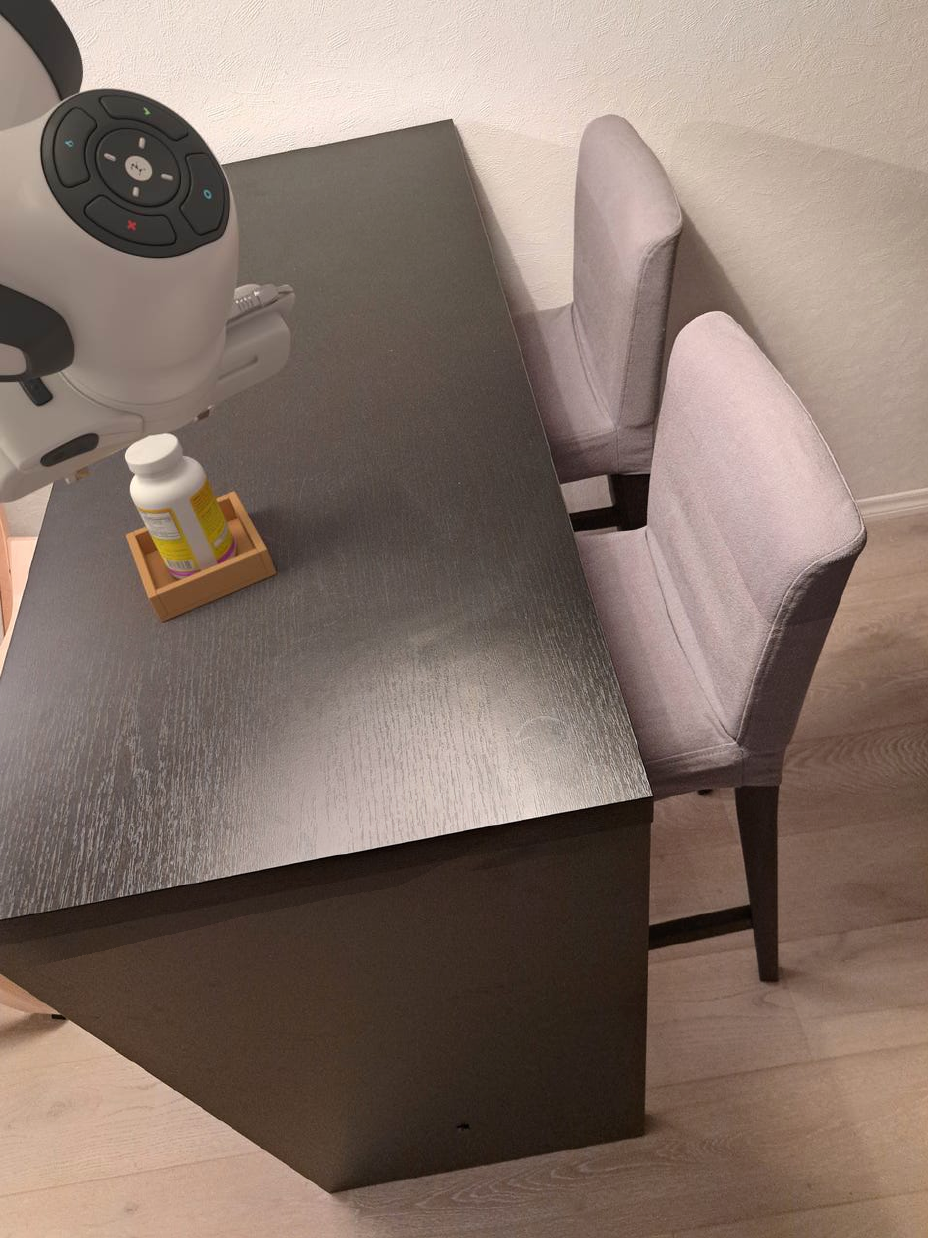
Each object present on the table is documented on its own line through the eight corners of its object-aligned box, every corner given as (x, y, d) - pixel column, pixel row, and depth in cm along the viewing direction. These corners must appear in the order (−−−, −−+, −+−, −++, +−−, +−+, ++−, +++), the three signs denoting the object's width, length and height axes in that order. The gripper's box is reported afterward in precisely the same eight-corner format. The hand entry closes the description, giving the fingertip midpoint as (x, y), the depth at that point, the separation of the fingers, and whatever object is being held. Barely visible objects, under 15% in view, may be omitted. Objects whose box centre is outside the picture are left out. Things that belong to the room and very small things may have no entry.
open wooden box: (161, 622, 84) (148, 598, 82) (137, 558, 92) (125, 534, 90) (276, 573, 87) (267, 548, 85) (244, 514, 95) (234, 490, 93)
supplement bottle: (228, 530, 92) (180, 417, 83) (246, 566, 88) (198, 450, 79) (163, 557, 91) (107, 444, 82) (178, 595, 86) (120, 480, 77)
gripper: (269, 230, 55) (244, 337, 68) (-79, 376, 47) (-33, 466, 60) (328, 322, 55) (291, 412, 68) (-9, 482, 48) (21, 549, 60)
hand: (137, 438), depth 64 cm, fingers open, 8 cm apart
